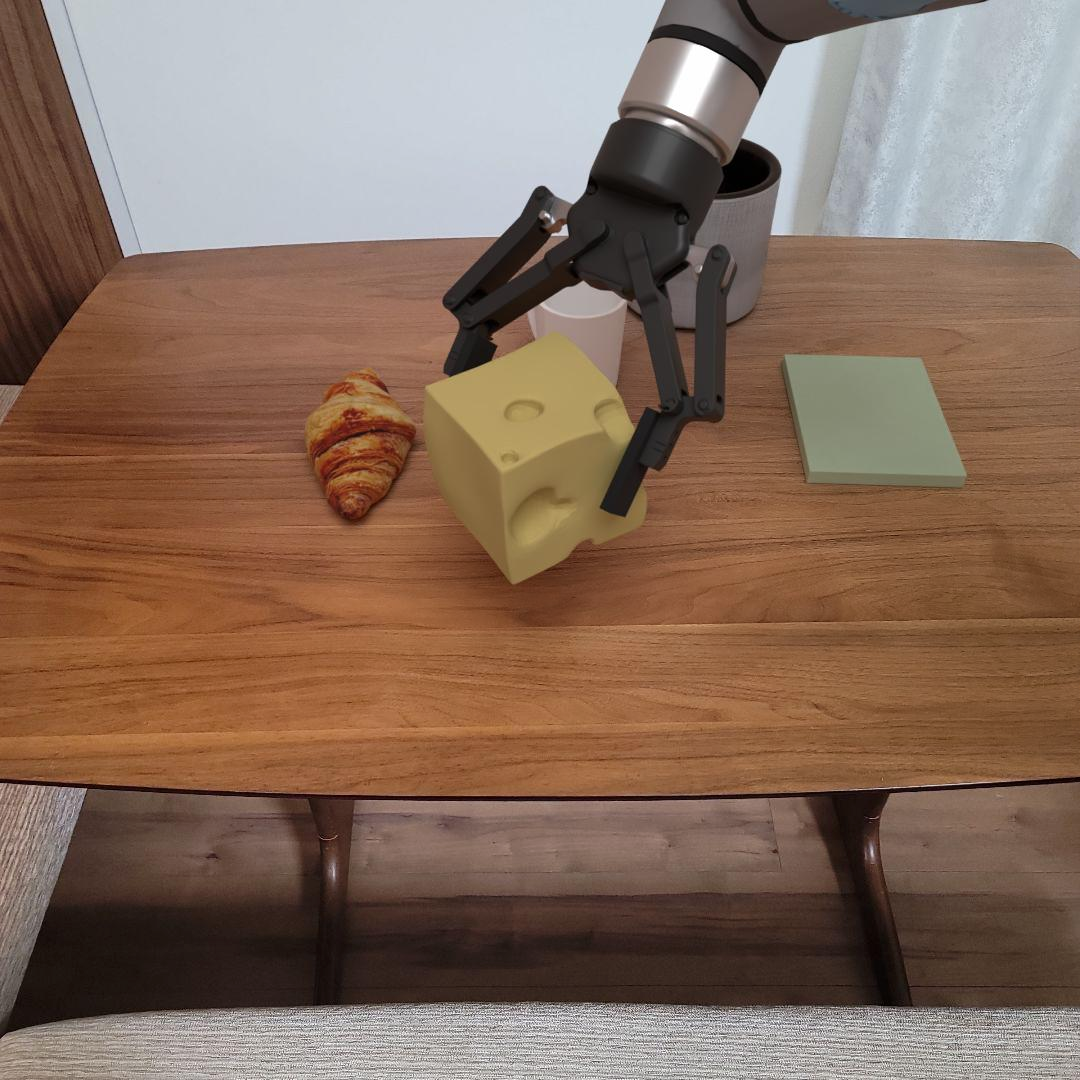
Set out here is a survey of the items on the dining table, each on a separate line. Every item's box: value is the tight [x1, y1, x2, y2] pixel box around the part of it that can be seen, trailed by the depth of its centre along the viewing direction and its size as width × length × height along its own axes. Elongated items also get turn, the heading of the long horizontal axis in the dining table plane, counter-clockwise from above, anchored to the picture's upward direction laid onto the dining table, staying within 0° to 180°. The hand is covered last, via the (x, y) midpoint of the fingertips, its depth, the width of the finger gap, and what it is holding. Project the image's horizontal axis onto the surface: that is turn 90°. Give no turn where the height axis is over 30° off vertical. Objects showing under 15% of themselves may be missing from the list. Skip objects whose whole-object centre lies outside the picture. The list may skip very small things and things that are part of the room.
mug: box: [526, 281, 628, 388], centre depth 92 cm, size 11×9×10 cm
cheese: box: [422, 331, 648, 585], centre depth 59 cm, size 10×11×10 cm
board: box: [781, 353, 968, 489], centre depth 90 cm, size 18×14×2 cm
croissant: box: [303, 366, 417, 521], centre depth 85 cm, size 21×10×8 cm, turn 5°
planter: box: [627, 137, 783, 330], centre depth 100 cm, size 16×16×16 cm
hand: (523, 470), depth 58 cm, fingers closed on cheese, 12 cm apart
